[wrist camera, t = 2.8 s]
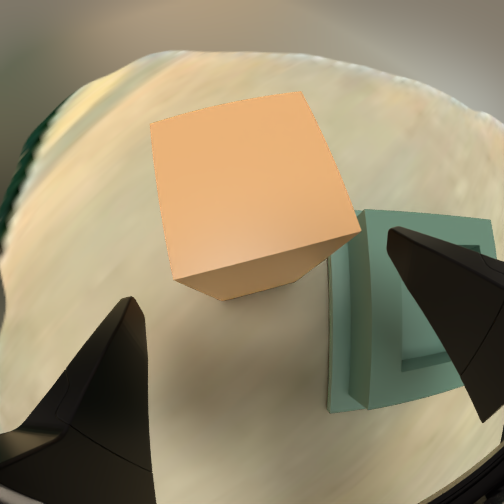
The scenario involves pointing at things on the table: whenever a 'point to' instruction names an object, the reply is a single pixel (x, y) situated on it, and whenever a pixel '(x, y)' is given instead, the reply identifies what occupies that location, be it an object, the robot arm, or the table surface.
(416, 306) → the socket housing
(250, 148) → the plug
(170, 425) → the table surface
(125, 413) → the robot arm
